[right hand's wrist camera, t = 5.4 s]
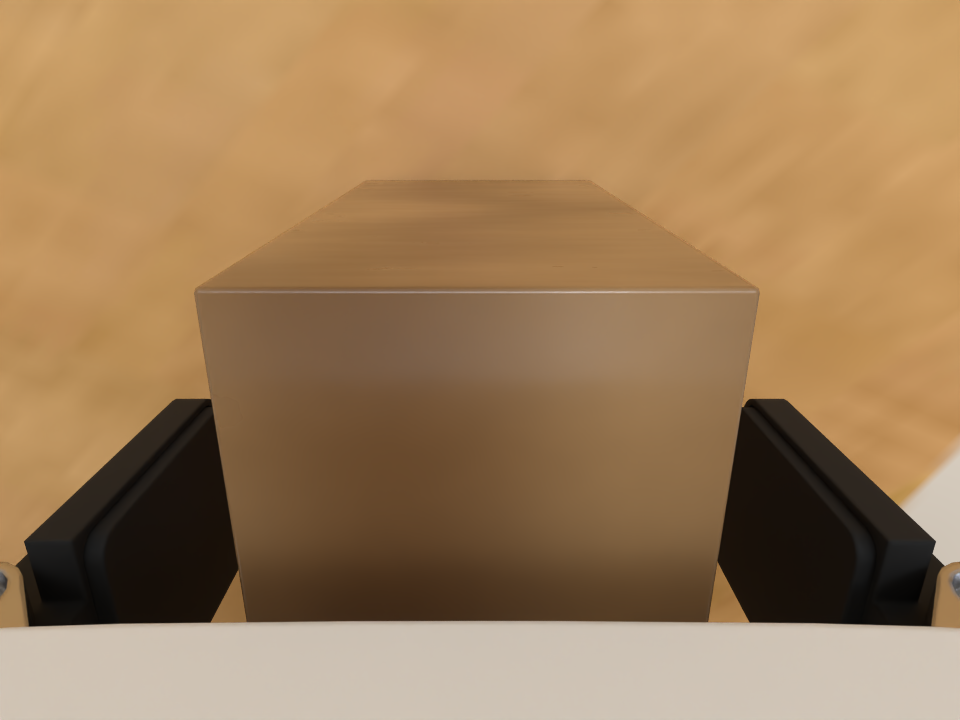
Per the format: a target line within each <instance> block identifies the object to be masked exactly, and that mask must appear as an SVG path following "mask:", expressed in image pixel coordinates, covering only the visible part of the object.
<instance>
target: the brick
mask: <svg viewBox="0 0 960 720" xmlns="http://www.w3.org/2000/svg"><path fill="white" fill-rule="evenodd" d="M194 295H195V301H196V307H197V313H198V320H199V326H200V332H201V338H202V345H203V351H204V357H205V363H206V370H207V376H208V382H209V388H210V395H211V401H212V407H213V413H214V419H215V426H216V432H217V438H218V444H219V451H220V457H221V463H222V469H223V476H224V482H225V488H226V494H227V501H228V507H229V513H230V519H231V525H232V532H233V538H234V544H235V550H236V557H237V563H238V569H239V575H240V582H241V588H242V594H243V600H244V607H245V613H246V619H247V622H329V621H606V622H708V618H709V612H710V606H711V599H712V593H713V587H714V580H715V574H716V567H717V561H718V555H719V548H720V542H721V536H722V529H723V523H724V516H725V510H726V504H727V497H728V491H729V485H730V478H731V472H732V465H733V459H734V453H735V446H736V440H737V434H738V427H739V421H740V414H741V408H742V402H743V395H744V389H745V383H746V376H747V370H748V363H749V357H750V351H751V344H752V338H753V331H754V325H755V319H756V312H757V306H758V300H759V289H758V288H757V287H756V286H754V285H752V284H751V283H749V282H748V281H746V280H745V279H743V278H742V277H740V276H738V275H737V274H735V273H734V272H732V271H731V270H729V269H727V268H726V267H724V266H723V265H721V264H720V263H718V262H717V261H715V260H713V259H712V258H710V257H709V256H707V255H706V254H704V253H702V252H701V251H699V250H698V249H696V248H695V247H693V246H692V245H690V244H688V243H687V242H685V241H684V240H682V239H681V238H679V237H677V236H676V235H674V234H673V233H671V232H670V231H668V230H666V229H665V228H663V227H662V226H660V225H659V224H657V223H656V222H654V221H652V220H651V219H649V218H648V217H646V216H645V215H643V214H641V213H640V212H638V211H637V210H635V209H634V208H632V207H631V206H629V205H627V204H626V203H624V202H623V201H621V200H620V199H618V198H616V197H615V196H613V195H612V194H610V193H609V192H607V191H606V190H604V189H602V188H601V187H599V186H598V185H596V184H595V183H593V182H591V181H365V182H363V183H362V184H360V185H358V186H357V187H355V188H354V189H352V190H350V191H349V192H347V193H346V194H344V195H343V196H341V197H339V198H338V199H336V200H335V201H333V202H331V203H330V204H328V205H327V206H325V207H324V208H322V209H320V210H319V211H317V212H316V213H314V214H313V215H311V216H309V217H308V218H306V219H305V220H303V221H301V222H300V223H298V224H297V225H295V226H294V227H292V228H290V229H289V230H287V231H286V232H284V233H282V234H281V235H279V236H278V237H276V238H275V239H273V240H271V241H270V242H268V243H267V244H265V245H263V246H262V247H260V248H259V249H257V250H256V251H254V252H252V253H251V254H249V255H248V256H246V257H245V258H243V259H241V260H240V261H238V262H237V263H235V264H233V265H232V266H230V267H229V268H227V269H226V270H224V271H222V272H221V273H219V274H218V275H216V276H214V277H213V278H211V279H210V280H208V281H207V282H205V283H203V284H202V285H200V286H199V287H197V288H196V289H195V292H194Z"/></svg>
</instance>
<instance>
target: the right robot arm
mask: <svg viewBox="0 0 960 720" xmlns="http://www.w3.org/2000/svg"><path fill="white" fill-rule="evenodd" d="M24 543H25V546H26V550H27V553H28V554H27V555H26V556H25V557H24V558H23V559H22V560H21V561H20V562H19V563H18V564H17V565H16V566H14V565H12V564H10V563H6V562H0V720H960V562H954V563H950V564H948V565H946V566H944V565H943V564H942V563H941V562H940V561H939V560H938V559H937V558H936V557H935V556H934V555H933V554H932V553H933V550H934V546H935V543H936V541H935V540H934V539H933V538H932V537H931V536H930V535H929V534H928V533H926V532H925V531H924V530H923V529H922V528H921V527H920V526H919V525H918V524H917V523H916V522H915V521H914V520H913V519H912V518H911V517H910V516H908V515H907V514H906V513H905V512H904V511H903V510H902V509H901V508H900V507H899V506H898V505H897V504H896V503H895V502H894V501H893V500H892V499H891V498H889V497H888V496H887V495H886V494H885V493H884V492H883V491H882V490H881V489H880V488H879V487H878V486H877V485H876V484H875V483H874V482H873V481H871V480H870V479H869V478H868V477H867V476H866V475H865V474H864V473H863V472H862V471H861V470H860V469H859V468H858V467H857V466H856V465H855V464H853V463H852V462H851V461H850V460H849V459H848V458H847V457H846V456H845V455H844V454H843V453H842V452H841V451H840V450H839V449H838V448H837V447H836V446H834V445H833V444H832V443H831V442H830V441H829V440H828V439H827V438H826V437H825V436H824V435H823V434H822V433H821V432H820V431H819V430H818V429H816V428H815V427H814V426H813V425H812V424H811V423H810V422H809V421H808V420H807V419H806V418H805V417H804V416H803V415H802V414H801V413H800V412H798V411H797V410H796V409H795V408H794V407H793V406H792V405H791V404H790V403H789V402H788V401H787V400H785V399H749V400H748V401H747V402H746V404H745V406H744V407H742V408H741V414H740V421H739V427H738V434H737V440H736V446H735V453H734V459H733V465H732V472H731V478H730V485H729V491H728V497H727V504H726V510H725V516H724V523H723V529H722V536H721V542H720V548H719V555H718V563H719V565H720V567H721V569H722V571H723V573H724V575H725V577H726V579H727V580H728V582H729V584H730V586H731V588H732V590H733V592H734V594H735V596H736V598H737V599H738V601H739V603H740V605H741V607H742V609H743V611H744V613H745V615H746V617H747V618H748V620H749V622H750V623H719V622H606V621H329V622H240V623H210V622H211V620H212V618H213V617H214V615H215V613H216V611H217V609H218V607H219V605H220V603H221V601H222V599H223V598H224V596H225V594H226V592H227V590H228V588H229V586H230V584H231V582H232V580H233V579H234V577H235V575H236V573H237V571H238V563H237V557H236V550H235V544H234V538H233V532H232V525H231V519H230V513H229V507H228V501H227V494H226V488H225V482H224V476H223V469H222V463H221V457H220V451H219V444H218V438H217V432H216V426H215V419H214V413H213V407H212V401H211V399H175V400H174V401H172V402H171V403H170V404H169V405H168V406H167V407H166V408H165V409H164V410H163V411H162V412H160V413H159V414H158V415H157V416H156V417H155V418H154V419H153V420H152V421H151V422H150V423H149V424H148V425H147V426H146V427H145V428H144V429H142V430H141V431H140V432H139V433H138V434H137V435H136V436H135V437H134V438H133V439H132V440H131V441H130V442H129V443H128V444H127V445H126V446H125V447H123V448H122V449H121V450H120V451H119V452H118V453H117V454H116V455H115V456H114V457H113V458H112V459H111V460H110V461H109V462H108V463H107V464H105V465H104V466H103V467H102V468H101V469H100V470H99V471H98V472H97V473H96V474H95V475H94V476H93V477H92V478H91V479H90V480H89V481H87V482H86V483H85V484H84V485H83V486H82V487H81V488H80V489H79V490H78V491H77V492H76V493H75V494H74V495H73V496H72V497H71V498H70V499H68V500H67V501H66V502H65V503H64V504H63V505H62V506H61V507H60V508H59V509H58V510H57V511H56V512H55V513H54V514H53V515H52V516H50V517H49V518H48V519H47V520H46V521H45V522H44V523H43V524H42V525H41V526H40V527H39V528H38V529H37V530H36V531H35V532H34V533H33V534H31V535H30V536H29V537H28V538H27V539H26V540H25V541H24Z"/></svg>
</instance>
